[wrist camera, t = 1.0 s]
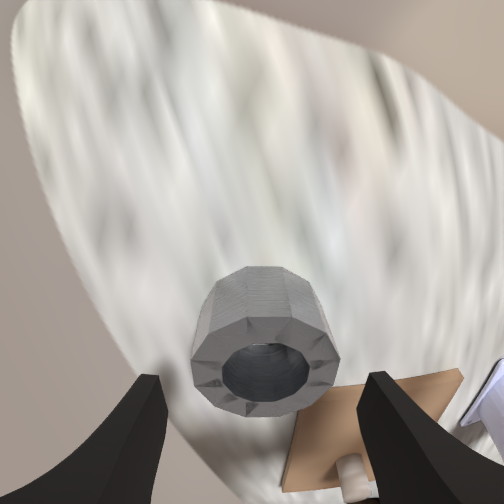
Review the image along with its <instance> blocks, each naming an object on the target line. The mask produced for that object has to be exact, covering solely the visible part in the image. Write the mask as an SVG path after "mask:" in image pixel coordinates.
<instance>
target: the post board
mask: <svg viewBox="0 0 504 504" xmlns="http://www.w3.org/2000/svg"><path fill="white" fill-rule="evenodd" d="M463 379H464V377H463V375H462V374H461V372H460V371H459V369H458V368H457V369H452V370H448V371H443V372H438V373H433V374H428V375H423V376H417V377H412V378H406V379H400V380H394V381H395V382H396V383H397V384H398V385H399V386H400V387H401V388H402V389H403V390H404V391H405V392H406V393H407V394H408V395H409V397H410V398H411V399H412V400H413V401H414V402H415V403H416V404H417V405H418V406H419V407H420V408H421V409H422V410H423V411H424V412H426V413H427V414H428V415H429V416H430V417H431V418H432V419H433V420H434V421H435V422H436V423H437V421H438V420H439V418H440V417H441V415H442V414H443V412H444V411H445V409H446V407H447V406H448V404H449V403H450V401H451V399H452V398H453V396H454V395H455V393H456V391H457V389H458V388H459V386H460V384H461V383H462V381H463ZM364 387H365V384H362V385H353V386H343V387H332V388H330V389H329V390H327V391H326V392H325V393H324V394H323V395H322V396H321V397H320V398H319V399H318V400H317V401H315V402H314V403H313V404H312V405H311V406H308V407H306V408H303V409H300V410H299V412H298V416H297V421H296V426H295V430H294V435H293V439H292V443H291V447H290V452H289V456H288V460H287V464H286V468H285V472H284V476H283V480H282V483H281V485H282V493H286V492H300V491H310V490H320V489H328V488H335V487H341V490H342V495H343V500H344V503H354V502H358V501H362V500H364V499H366V498H368V497H370V496H371V495H372V493H371V489H370V485H369V481H374V480H375V477H374V473H373V470H372V467H371V464H370V461H369V458H368V455H367V452H366V448H365V445H364V442H363V439H362V436H361V433H360V428H359V423H358V417H357V411H356V407H357V405H358V402H359V400H360V397H361V394H362V392H363V389H364Z"/></svg>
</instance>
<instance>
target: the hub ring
mask: <svg viewBox="0 0 504 504" xmlns="http://www.w3.org/2000/svg"><path fill="white" fill-rule="evenodd" d="M254 343H275V344H272V345H270V346H251V345H252V344H254ZM339 362H340V356H339V353H338V350H337V348H336V345H335V342H334V339H333V336H332V333H331V331H330V328H329V325H328V322H327V320H326V317H325V314H324V311H323V309H322V306H321V304H320V302H319V300H318V298H317V296H316V294H315V292H314V290H313V289H312V287H311V285H310V283H309V282H308V281H306V280H304V279H303V278H301V277H299V276H297V275H295V274H293V273H292V272H290V271H288V270H286V269H284V268H283V267H245V268H243V269H241V270H239V271H237V272H235V273H233V274H231V275H229V276H227V277H225V278H223V279H221V280H219V281H217V283H216V284H215V286H214V287H213V289H212V291H211V292H210V294H209V295H208V297H207V299H206V300H205V302H204V303H203V305H202V309H201V313H200V318H199V322H198V327H197V332H196V336H195V341H194V346H193V350H192V355H191V367H192V374H193V380H194V386H195V387H196V388H197V389H198V390H199V391H200V392H201V393H202V394H203V395H204V396H205V397H206V398H207V399H208V400H209V401H210V402H211V403H212V404H213V405H214V406H215V407H218V408H220V409H223V410H226V411H229V412H232V413H235V414H238V415H241V416H244V417H280V416H283V415H286V414H289V413H292V412H295V411H297V410H300V409H303V408H306V407H308V406H311V405H312V404H313V403H314V402H315V401H317V400H318V399H319V398H320V397H321V396H322V395H323V394H324V393H325V392H326V391H327V390H329V389H330V388H331V387H332V386H333V384H334V381H335V377H336V374H337V370H338V366H339Z"/></svg>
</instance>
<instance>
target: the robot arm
mask: <svg viewBox="0 0 504 504" xmlns="http://www.w3.org/2000/svg"><path fill="white" fill-rule="evenodd" d="M356 411H357V417H358V423H359V428H360V433H361V436H362V439H363V442H364V445H365V448H366V452H367V455H368V458H369V461H370V464H371V467H372V470H373V473H374V477H375V480H376V484H377V488H378V493H379V499H380V504H504V466H503V465H500V464H498V463H496V462H494V461H492V460H490V459H488V458H486V457H484V456H482V455H481V454H479V453H477V452H476V451H474V450H472V449H471V448H469V447H468V446H466V445H465V444H463V443H462V442H460V441H459V440H458V439H456V438H455V437H453V436H452V435H451V434H450V433H448V432H447V431H446V430H445V429H443V428H442V427H441V426H440V425H439V424H438V423H436V422H435V421H434V420H433V419H432V418H431V417H430V416H429V415H428V414H427V413H426V412H424V411H423V410H422V409H421V408H420V407H419V406H418V405H417V404H416V403H415V402H414V401H413V400H412V399H411V398H410V397H409V395H408V394H407V393H406V392H405V391H404V390H403V389H402V388H401V387H400V386H399V385H398V384H397V383H396V382H395V381H394V380H393V379H392V378H391V377H390V376H389V375H388V374H387V373H386V372H385V371H380V372H372V373H369V376H368V378H367V381H366V384H365V387H364V389H363V392H362V394H361V397H360V400H359V402H358V405H357V407H356ZM167 418H168V409H167V405H166V402H165V398H164V394H163V390H162V387H161V383H160V379H159V375H149V374H141V375H140V376H139V377H138V378H137V380H136V381H135V383H134V384H133V385H132V386H131V388H130V389H129V391H128V392H127V393H126V394H125V396H124V397H123V398H122V400H121V401H120V402H119V404H118V405H117V406H116V407H115V408H114V410H113V411H112V412H111V413H110V414H109V416H108V417H107V418H106V419H105V420H104V421H103V423H102V424H101V425H100V426H99V427H98V428H97V429H96V430H95V431H94V432H93V433H92V434H91V436H90V437H89V438H88V439H87V440H86V441H85V442H84V443H83V444H81V445H80V446H79V447H78V448H77V449H76V450H75V451H74V452H73V453H72V454H71V455H69V456H68V457H67V458H65V459H64V460H63V461H62V462H60V463H59V464H58V465H57V466H55V467H54V468H53V469H51V470H50V471H48V472H47V473H45V474H44V475H42V476H40V477H39V478H37V479H36V480H34V481H32V482H31V483H29V484H27V485H25V486H24V487H22V488H20V489H17V490H15V491H13V492H11V493H9V494H6V495H4V496H2V497H0V504H150V503H151V495H152V490H153V485H154V480H155V476H156V472H157V468H158V464H159V459H160V456H161V452H162V448H163V444H164V439H165V434H166V427H167ZM480 420H482V422H483V424H484V425H485V427H486V429H487V431H488V433H489V434H490V436H491V438H492V440H493V442H494V444H495V445H496V447H497V449H498V451H499V453H500V455H501V457H502V459H503V461H504V359H502V360H500V361H499V362H498V364H497V366H496V367H495V369H494V371H493V373H492V374H491V376H490V378H489V380H488V381H487V383H486V385H485V386H484V388H483V389H482V391H481V393H480V394H479V396H478V397H477V399H476V400H475V402H474V403H473V405H472V406H471V408H470V409H469V411H468V412H467V414H466V415H465V417H464V418H463V419H462V421H461V422H460V425H461V427H464V426H467V425H470V424H472V423H475V422H478V421H480Z"/></svg>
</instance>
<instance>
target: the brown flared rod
mask: <svg viewBox="0 0 504 504" xmlns="http://www.w3.org/2000/svg"><path fill="white" fill-rule="evenodd" d="M350 504H380V499H379V498H370V499H365V500H362V501H358V502H354V503H350Z"/></svg>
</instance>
